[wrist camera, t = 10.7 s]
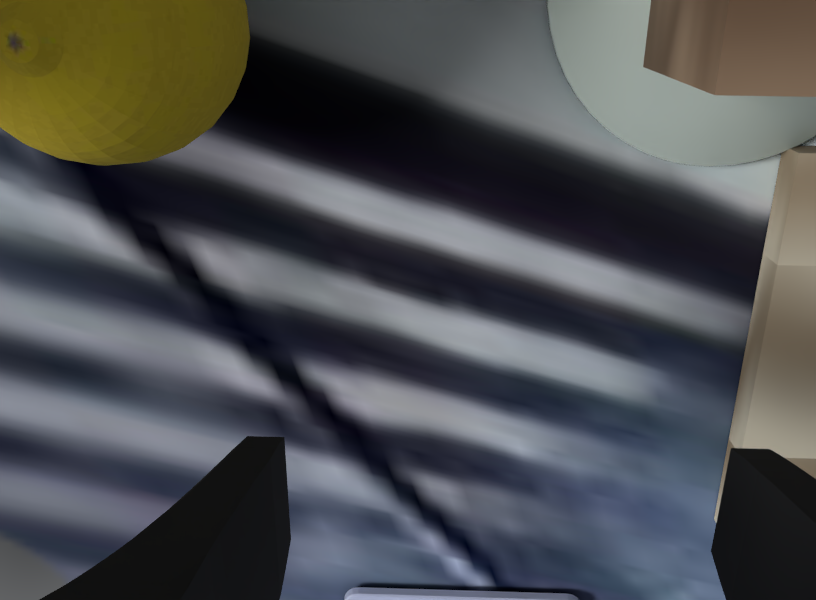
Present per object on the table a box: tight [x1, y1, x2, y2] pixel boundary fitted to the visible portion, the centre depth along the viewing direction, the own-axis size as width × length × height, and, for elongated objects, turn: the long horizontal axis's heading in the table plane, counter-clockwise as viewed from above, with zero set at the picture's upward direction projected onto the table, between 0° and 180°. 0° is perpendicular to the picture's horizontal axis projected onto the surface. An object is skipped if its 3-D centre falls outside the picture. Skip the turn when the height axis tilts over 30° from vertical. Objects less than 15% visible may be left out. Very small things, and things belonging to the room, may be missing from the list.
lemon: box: [0, 0, 250, 165], centre depth 16 cm, size 6×6×8 cm
